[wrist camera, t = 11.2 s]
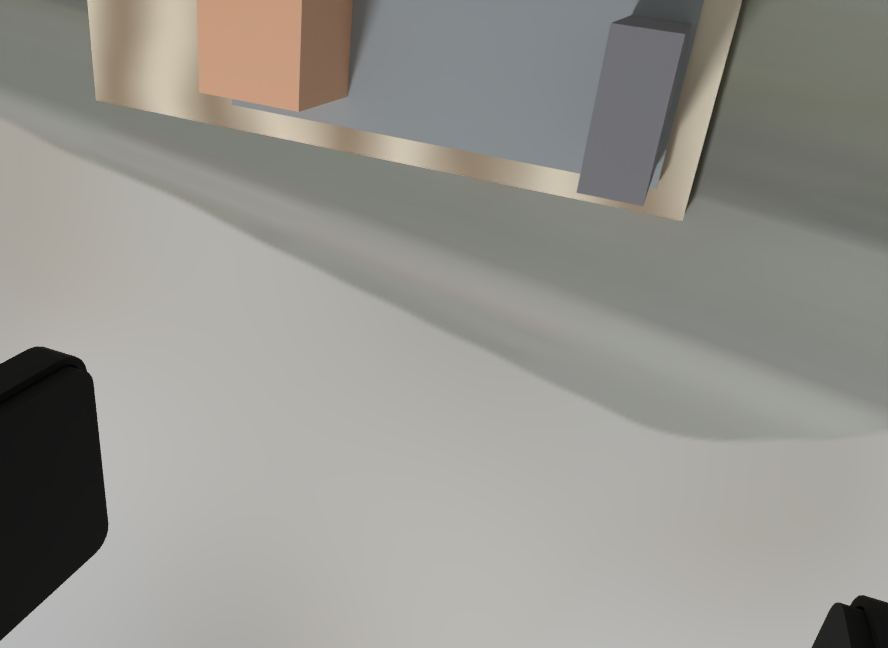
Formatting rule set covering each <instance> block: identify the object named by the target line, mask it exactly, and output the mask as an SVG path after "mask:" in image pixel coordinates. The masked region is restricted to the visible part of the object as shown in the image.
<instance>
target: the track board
mask: <svg viewBox="0 0 888 648" xmlns="http://www.w3.org/2000/svg"><path fill="white" fill-rule="evenodd" d="M87 2H88V13H89V25H90V37H91V48H92V60H93V71H94V83H95V94H96V100H97V101H102V102H107V103H112V104H117V105H121V106H126V107H131V108H136V109H141V110H146V111H151V112H155V113H160V114H165V115H170V116H175V117H180V118H185V119H189V120H194V121H199V122H204V123H209V124H214V125H219V126H223V127H228V128H233V129H238V130H243V131H248V132H253V133H257V134H262V135H267V136H272V137H277V138H282V139H287V140H291V141H296V142H301V143H306V144H311V145H316V146H321V147H325V148H330V149H335V150H340V151H345V152H350V153H355V154H359V155H364V156H369V157H374V158H379V159H384V160H389V161H393V162H398V163H403V164H408V165H413V166H418V167H423V168H427V169H432V170H437V171H442V172H447V173H452V174H457V175H461V176H466V177H471V178H476V179H481V180H486V181H491V182H495V183H500V184H505V185H510V186H515V187H520V188H525V189H529V190H534V191H539V192H544V193H549V194H554V195H559V196H563V197H568V198H573V199H578V200H583V201H588V202H593V203H597V204H602V205H607V206H612V207H617V208H622V209H626V210H631V211H636V212H641V213H646V214H651V215H656V216H660V217H665V218H670V219H675V220H680V221H683V217H684V213H685V210H686V206H687V202H688V199H689V195H690V191H691V187H692V184H693V180H694V176H695V173H696V169H697V165H698V162H699V158H700V154H701V151H702V147H703V143H704V140H705V136H706V132H707V129H708V125H709V121H710V118H711V114H712V110H713V107H714V103H715V99H716V95H717V92H718V88H719V84H720V81H721V77H722V73H723V70H724V66H725V62H726V59H727V55H728V51H729V48H730V44H731V40H732V37H733V33H734V29H735V26H736V22H737V18H738V15H739V11H740V7H741V3H742V0H704V3H703V7H702V11H701V15H700V19H699V23H698V27H697V31H696V35H695V39H694V43H693V47H692V51H691V55H690V59H689V63H688V67H687V71H686V75H685V79H684V83H683V87H682V91H681V94H680V98H679V102H678V106H677V110H676V114H675V118H674V122H673V126H672V130H671V134H670V138H669V142H668V146H667V150H666V154H665V158H664V162H663V166H662V170H661V174H660V178H659V182H658V186H657V189H655V188H650V187H649V190H648V193H647V196H646V199H645V202H644V205H643V206H639V205H634V204H629V203H624V202H619V201H614V200H609V199H605V198H600V197H595V196H590V195H585V194H580V193H576V192H577V188H578V183H579V178H580V174H579V173H574V172H569V171H564V170H559V169H554V168H549V167H544V166H539V165H533V164H528V163H523V162H518V161H513V160H508V159H503V158H498V157H493V156H488V155H483V154H478V153H473V152H468V151H463V150H458V149H453V148H447V147H442V146H437V145H432V144H427V143H422V142H417V141H412V140H407V139H402V138H397V137H392V136H387V135H382V134H377V133H372V132H367V131H362V130H356V129H351V128H346V127H341V126H336V125H331V124H326V123H321V122H316V121H311V120H306V119H301V118H296V117H291V116H286V115H281V114H276V113H270V112H265V111H260V110H255V109H250V108H245V107H240V106H235V105H232V99H230V98H225V97H220V96H214V95H209V94H204V93H199V70H198V33H197V0H87Z"/></svg>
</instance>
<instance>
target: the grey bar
mask: <svg viewBox="0 0 888 648" xmlns="http://www.w3.org/2000/svg"><path fill="white" fill-rule="evenodd" d="M703 3H704V0H353V7H352V24H351V41H350V58H349V75H348V92H347V97H345V98H342V99H339V100H335V101H332V102H329V103H326V104H322V105H319V106H316V107H313V108H310V109H306V110H303V111H300V112H296V111H291V110H286V109H281V108H276V107H271V106H266V105H261V104H255V103H250V102H245V101H240V100H235V99H232V105H235V106H240V107H245V108H250V109H255V110H260V111H265V112H270V113H276V114H281V115H286V116H291V117H296V118H301V119H306V120H311V121H316V122H321V123H326V124H331V125H336V126H341V127H346V128H351V129H356V130H362V131H367V132H372V133H377V134H382V135H387V136H392V137H397V138H402V139H407V140H412V141H417V142H422V143H427V144H432V145H437V146H442V147H447V148H453V149H458V150H463V151H468V152H473V153H478V154H483V155H488V156H493V157H498V158H503V159H508V160H513V161H518V162H523V163H528V164H533V165H539V166H544V167H549V168H554V169H559V170H564V171H569V172H574V173H579V174H580V178H579V183H578V188H577V192H576V193H580V194H585V195H590V196H595V197H600V198H605V199H609V200H614V201H619V202H624V203H629V204H634V205H639V206H643V205H644V202H645V199H646V196H647V193H648V190H649V187H650V188H655V189H657V186H658V182H659V178H660V174H661V170H662V166H663V162H664V158H665V154H666V150H667V146H668V142H669V138H670V134H671V130H672V126H673V122H674V118H675V114H676V110H677V106H678V102H679V98H680V94H681V91H682V87H683V83H684V79H685V75H686V71H687V67H688V63H689V59H690V55H691V51H692V47H693V43H694V39H695V35H696V31H697V27H698V23H699V19H700V15H701V11H702V7H703Z"/></svg>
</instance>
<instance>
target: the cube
mask: <svg viewBox="0 0 888 648" xmlns="http://www.w3.org/2000/svg"><path fill="white" fill-rule="evenodd" d="M352 7H353V0H197V33H198V70H199V93H204V94H209V95H214V96H220V97H225V98H230V99H235V100H240V101H245V102H250V103H255V104H261V105H266V106H271V107H276V108H281V109H286V110H291V111H296V112H300V111H303V110H306V109H310V108H313V107H316V106H319V105H322V104H326V103H329V102H332V101H335V100H339V99H342V98H345V97H347V92H348V75H349V58H350V41H351V24H352Z"/></svg>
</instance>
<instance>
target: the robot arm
mask: <svg viewBox="0 0 888 648" xmlns="http://www.w3.org/2000/svg"><path fill="white" fill-rule="evenodd" d="M107 531H108V517H107V507H106V498H105V488H104V480H103V470H102V460H101V450H100V441H99V432H98V422H97V412H96V403H95V394H94V384H93V379H92V377H91V375H90V374H89V373H88V372H87V370H86V366H85V364H84V363H83V361H82V360H81V359H79V358H77V357H75V356H72V355H68V354H65V353H61V352H58V351H55V350H52V349H48V348H45V347H33V348H30V349H28V350H26V351H24V352H22V353H20V354H18V355H16V356H15V357H12V358H11V359H9V360H7V361H5V362H3V363H1V364H0V640H2V639H3V638H4V637H5V636H6V635H7V634H8V633H9V632H10V631H11V630H12V629H14V627H16V626H17V625H18V624H19V623H20V622H21V621H22V620H23V619H24V618H25V617H27V616H28V615H29V614H30V613H31V612H32V611H33V610H34V609H35V608H36V607H37V606H39V604H41V603H42V602H43V601H44V600H45V599H46V598H47V597H48V596H49V595H51V594H52V593H53V592H54V591H55V590H56V589H57V588H58V587H59V586H60V585H61V584H63V582H65V581H66V580H67V579H68V578H69V577H70V576H71V575H72V574H73V573H74V572H76V571H77V570H78V569H79V568H80V567H81V566H82V565H83V564H84V563H85V562H86V561H88V559H90V558H91V557H92V556H93V555H94V554H95V553H96V552H97V551H98V550H99V549H100V547H101V546H102V544H103V542H104V540H105V538H106V536H107ZM812 648H888V603H887V602H884V601H880V600H877V599H874V598H870V597H867V596H864V595H862V596H858V597H857V598H855V599H854V600H853V602H852V604H851V605H850V606H848V605H845V604H842V603H835V604H834V605H833V606H832V608H831V609H830V611H829V613H828V615H827V617H826V619H825V621H824V623H823V625H822V627H821V629H820V631H819V633H818V636H817V638H816V640H815V642H814V644H813V646H812Z"/></svg>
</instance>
